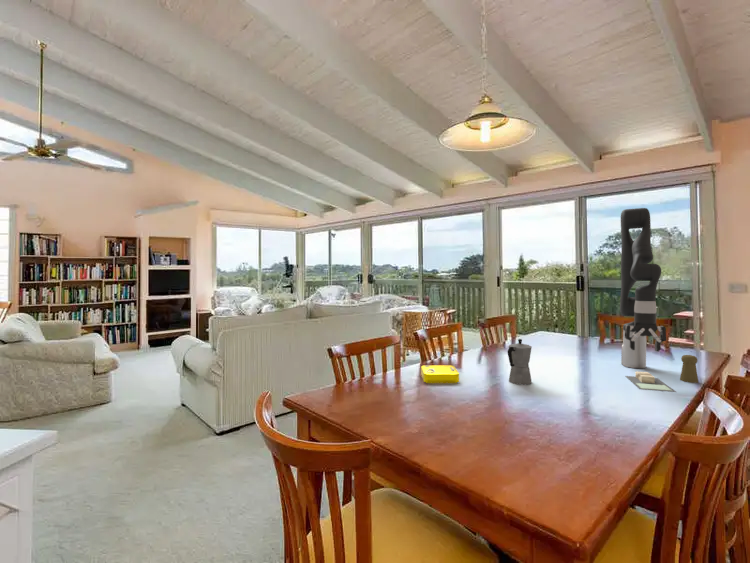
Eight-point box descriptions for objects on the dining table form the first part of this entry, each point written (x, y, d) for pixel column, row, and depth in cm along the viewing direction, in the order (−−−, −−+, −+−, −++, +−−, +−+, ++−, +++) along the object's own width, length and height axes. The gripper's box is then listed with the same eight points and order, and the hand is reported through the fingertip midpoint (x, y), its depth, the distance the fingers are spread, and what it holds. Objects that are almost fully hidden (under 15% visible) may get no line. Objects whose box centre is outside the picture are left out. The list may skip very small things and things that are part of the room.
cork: (691, 379, 164) (692, 353, 164) (702, 383, 158) (702, 357, 158) (676, 379, 164) (676, 353, 164) (686, 383, 158) (686, 356, 158)
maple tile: (635, 377, 167) (635, 371, 167) (647, 377, 166) (647, 372, 166) (641, 382, 160) (641, 376, 160) (654, 383, 158) (654, 377, 158)
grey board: (624, 376, 169) (624, 375, 169) (657, 378, 166) (657, 377, 166) (639, 390, 151) (639, 388, 151) (676, 393, 147) (676, 391, 147)
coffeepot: (518, 376, 172) (518, 335, 171) (538, 381, 164) (538, 338, 164) (498, 383, 162) (498, 340, 161) (519, 388, 155) (519, 343, 154)
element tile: (460, 384, 163) (460, 372, 163) (424, 384, 163) (424, 373, 163) (453, 374, 178) (453, 364, 178) (420, 374, 178) (420, 364, 178)
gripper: (628, 312, 161) (627, 351, 161) (669, 313, 156) (668, 353, 156) (622, 310, 168) (622, 347, 168) (662, 311, 163) (661, 349, 164)
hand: (644, 350), depth 162 cm, fingers open, 8 cm apart
